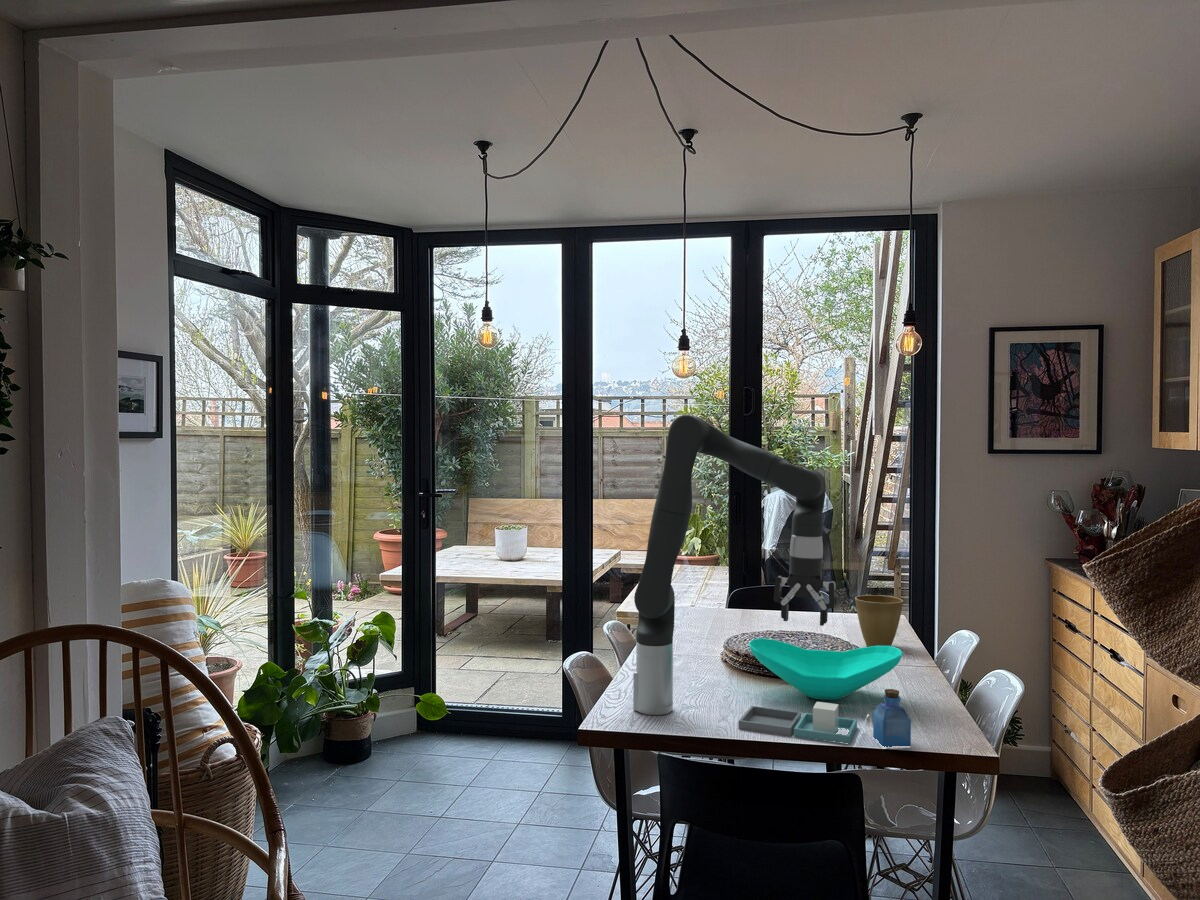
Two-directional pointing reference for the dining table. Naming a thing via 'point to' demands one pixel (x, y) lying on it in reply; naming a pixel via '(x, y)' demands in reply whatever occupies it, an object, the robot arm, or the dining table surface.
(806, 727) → the teal tray
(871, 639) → the plant pot
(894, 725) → the perfume bottle
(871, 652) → the table top decor
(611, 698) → the dining table surface
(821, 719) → the stone block
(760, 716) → the charcoal tray
